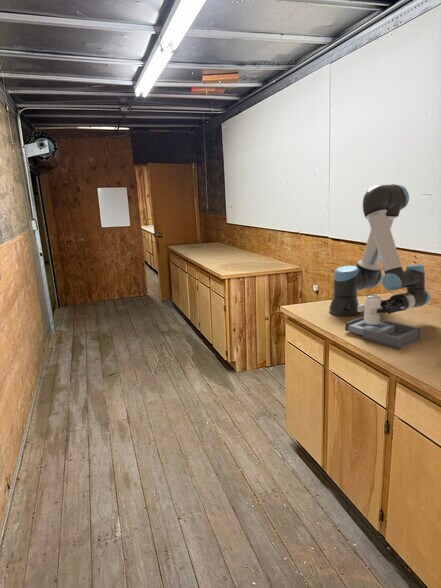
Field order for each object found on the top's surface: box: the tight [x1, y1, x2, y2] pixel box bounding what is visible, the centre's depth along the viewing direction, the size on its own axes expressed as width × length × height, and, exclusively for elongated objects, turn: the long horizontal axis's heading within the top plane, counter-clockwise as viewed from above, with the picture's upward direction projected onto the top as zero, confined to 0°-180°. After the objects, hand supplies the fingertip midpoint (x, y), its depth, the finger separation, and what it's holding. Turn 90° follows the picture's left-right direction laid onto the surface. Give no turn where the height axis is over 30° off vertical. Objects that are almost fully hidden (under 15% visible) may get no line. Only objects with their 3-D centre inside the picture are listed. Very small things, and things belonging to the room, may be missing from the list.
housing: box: [361, 319, 422, 351], centre depth 163 cm, size 16×18×4 cm
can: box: [363, 293, 382, 325], centre depth 168 cm, size 6×6×12 cm
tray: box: [344, 315, 396, 336], centre depth 170 cm, size 15×14×4 cm
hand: (364, 310), depth 165 cm, fingers closed on can, 6 cm apart
